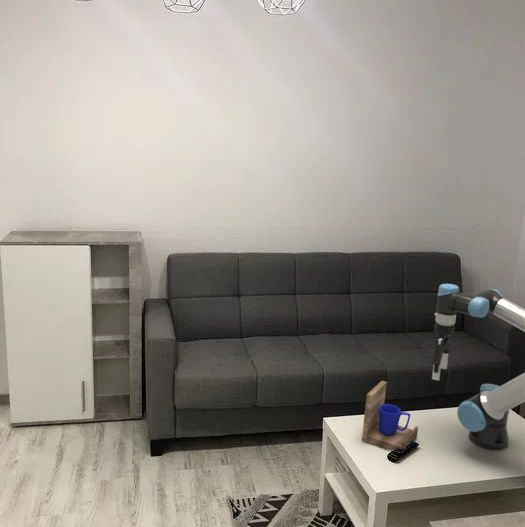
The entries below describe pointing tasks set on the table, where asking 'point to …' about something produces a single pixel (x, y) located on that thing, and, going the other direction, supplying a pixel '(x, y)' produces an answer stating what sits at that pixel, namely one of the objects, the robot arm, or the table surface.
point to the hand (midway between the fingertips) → (439, 374)
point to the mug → (390, 419)
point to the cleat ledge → (392, 438)
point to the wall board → (373, 408)
